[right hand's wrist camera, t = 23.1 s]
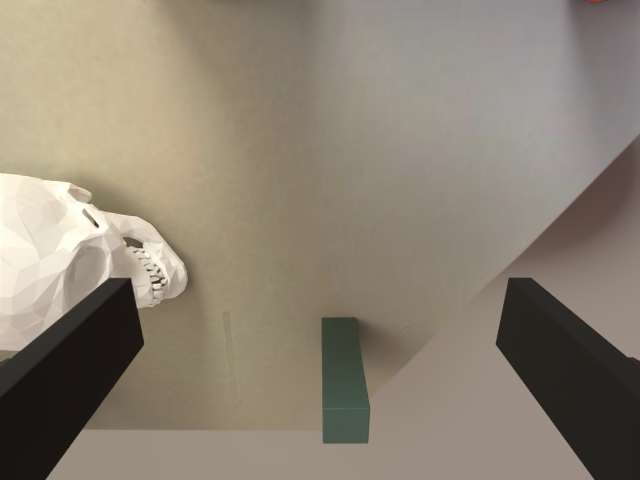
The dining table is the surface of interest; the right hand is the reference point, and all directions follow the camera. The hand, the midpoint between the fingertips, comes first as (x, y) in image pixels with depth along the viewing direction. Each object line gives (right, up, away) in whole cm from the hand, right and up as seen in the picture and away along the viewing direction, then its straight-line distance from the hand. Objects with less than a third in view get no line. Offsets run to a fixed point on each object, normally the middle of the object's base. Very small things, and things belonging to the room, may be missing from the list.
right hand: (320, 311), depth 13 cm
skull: (-25, +3, +28) cm, 37 cm away
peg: (+2, -9, +32) cm, 33 cm away
